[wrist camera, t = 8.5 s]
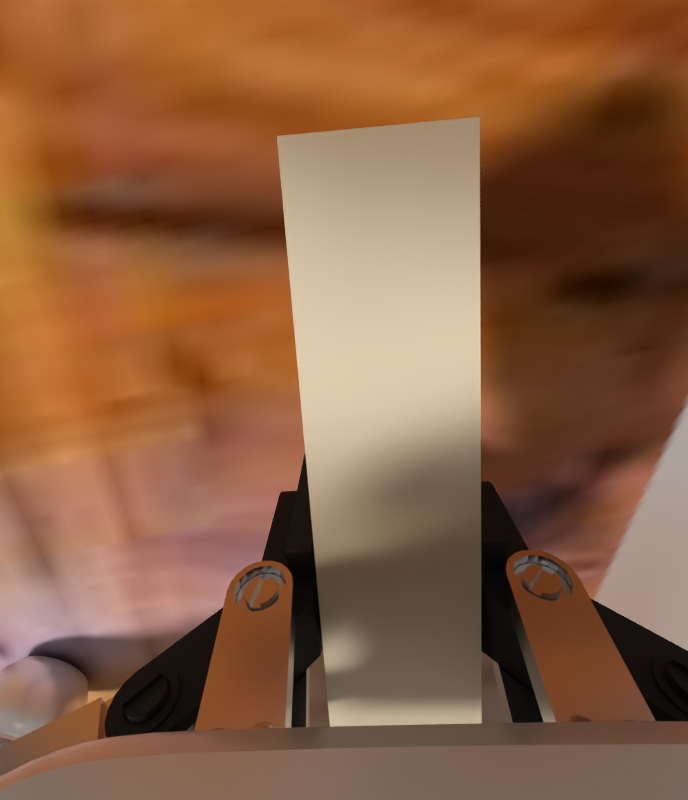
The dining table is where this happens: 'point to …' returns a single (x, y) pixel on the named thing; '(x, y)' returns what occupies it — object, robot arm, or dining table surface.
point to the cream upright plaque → (391, 417)
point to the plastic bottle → (38, 694)
